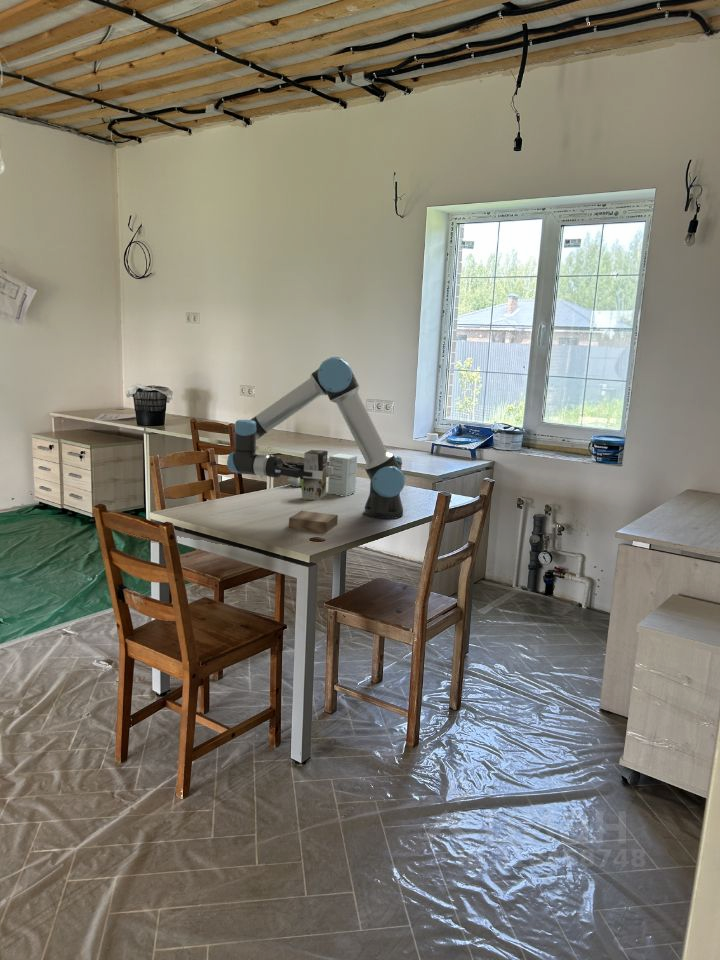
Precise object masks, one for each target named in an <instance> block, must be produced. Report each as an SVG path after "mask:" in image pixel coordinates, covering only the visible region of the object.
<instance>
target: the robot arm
mask: <svg viewBox="0 0 720 960" xmlns="http://www.w3.org/2000/svg"><path fill="white" fill-rule="evenodd" d="M359 389H360V385H359V383H358V381H357V379H356V377H355V374H354V372H353V371H352V368H351V365H350V364H349V362H348V361H347V360H346V359H344V358H342V357H338V356H333V357H332V356H331V357H329V358H326V359H325V360H323V361H322V362H321V364H320V365H319V367H318V369H316V370H315V371H313V372H312V373H311V374H310V377H309V378H308V379H306V380H305V381H304V382H302V383H301V384H300V385H298V386H297V387H295V388H294V389H292V390H291V391H289V392H288V393H287V394H284V395H283V396H282V397H281V398H279V399H278V400H276V401H275V402H274V403H272V404H271V405H269V406H268V407H266V408H265V409H264V410H262V411H261V412H259V413H258V414H257V415H255V416H254V417H252V418H251V419H237V420H236V421H235V423H234V424H235V425H234V426H235V427H234V451H232V452H230V453H229V454H228V456H227V461H226V465H227V468H228V470H229V471H230V472H232V473H237V474H240V475H249V476H250V475H251V476H253V475H254V476H259V477H260V478H263V477H269V478H280V476H285V477H288V478H290V477H295V478H299V477H300V479H303V476H304V477H305V478H313V479H322V471H315V470H307V469H304V462H295V461H290V462H289V461H285V462H284V461H283V459H282V457H280V456H273V455H268V454H256V450H257V449H256V448H257V445H256V443H257V440H259V439H260V438H261V437H263V436H264V435H266V434H267V433H269V432H270V431H271V430H273V429H274V428H275V427H277V426H279V425H281V424H282V423H284V422H285V421H286V420H288V419H289V418H290V417H291V416H293V415H294V414H296V413H298V412H299V411H300V410H302V409H303V408H305V407H306V406H307V405H309V404H310V403H312V402H313V401H315V400H316V399H318V398H320V397H321V396H327V398H328V399H329V401H330V402H332V403H335V404H336V405H337V407H338V410H339V411H340V413H341V415H342V417H343V419H344V422H345V423H346V425H347V427H348V429H349V432H350V433H351V435H352V437H353V439H354V441H355V444H356V445H357V447H358V449H359V452H360V453H361V455H362V456H363V459H364V461H365V465H364V470H365V472H366V475H367V477H368V478H369V480H370V484H369V495H368V497H367V500H366V502H365V505H364V510H363V512H364V514H365V515H366V514H367V515H366V516H368V515H370V516H369V517H371V516H373V517H372V518H376V517H378V518H377V519H397V518H396V517H398V518H401V517H403V516H404V507H403V503H402V499H401V495H400V493H401V492H402V491H403V489H404V488H405V484H406V476H405V474H404V472H403V471H402V465H403V462H402V461H403V460H402V457H401V456H397V455H394V453H392V452H389V451H388V450H387V448H386V447H385V444H384V441H383V440H382V438H381V436H380V434H379V431H378V430H377V428H376V426H375V423H373V420H372V418H371V416H370V415H369V412H368V410H367V408H366V406H365V404H364V403H363V400H362V398H361V397H360V394H359ZM329 474H330V475H332V474H333V467H330V466H329V465H327V475H329ZM402 515H403V516H402ZM400 516H401V517H400Z"/></svg>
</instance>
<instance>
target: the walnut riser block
mask: <svg viewBox="0 0 720 960" xmlns="http://www.w3.org/2000/svg"><path fill="white" fill-rule="evenodd" d="M338 516H339V515H338V514H333V513H325V512H324V513H323V512H315V511H307V510H300V511H298V512H297V513H295V514H294V515H292V516H290V517H289V518H288V528H289V529H293V530H294V529H295V530H301V531H311V532H317V533H319V532H320V533H329V532H330V531H331V530H333V529H334V528H335V527H337V525H338V524H339V523H338V519H339V518H338ZM333 527H334V528H333Z"/></svg>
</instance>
